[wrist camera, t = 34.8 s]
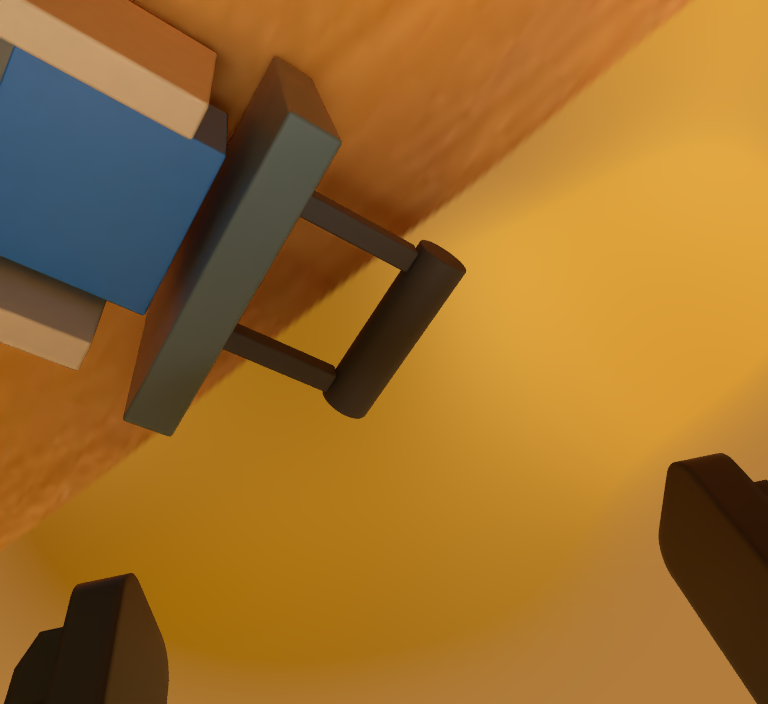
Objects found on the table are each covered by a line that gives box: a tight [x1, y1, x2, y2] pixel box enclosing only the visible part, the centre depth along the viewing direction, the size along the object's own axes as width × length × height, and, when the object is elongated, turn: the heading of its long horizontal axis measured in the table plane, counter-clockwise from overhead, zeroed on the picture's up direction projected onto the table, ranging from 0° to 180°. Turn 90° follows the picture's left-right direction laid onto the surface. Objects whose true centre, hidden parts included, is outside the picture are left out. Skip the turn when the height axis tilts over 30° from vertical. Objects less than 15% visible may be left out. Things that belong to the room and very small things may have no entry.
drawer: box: [0, 0, 466, 436], centre depth 17 cm, size 17×8×7 cm, turn 57°
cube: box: [0, 46, 228, 315], centre depth 17 cm, size 4×4×4 cm
